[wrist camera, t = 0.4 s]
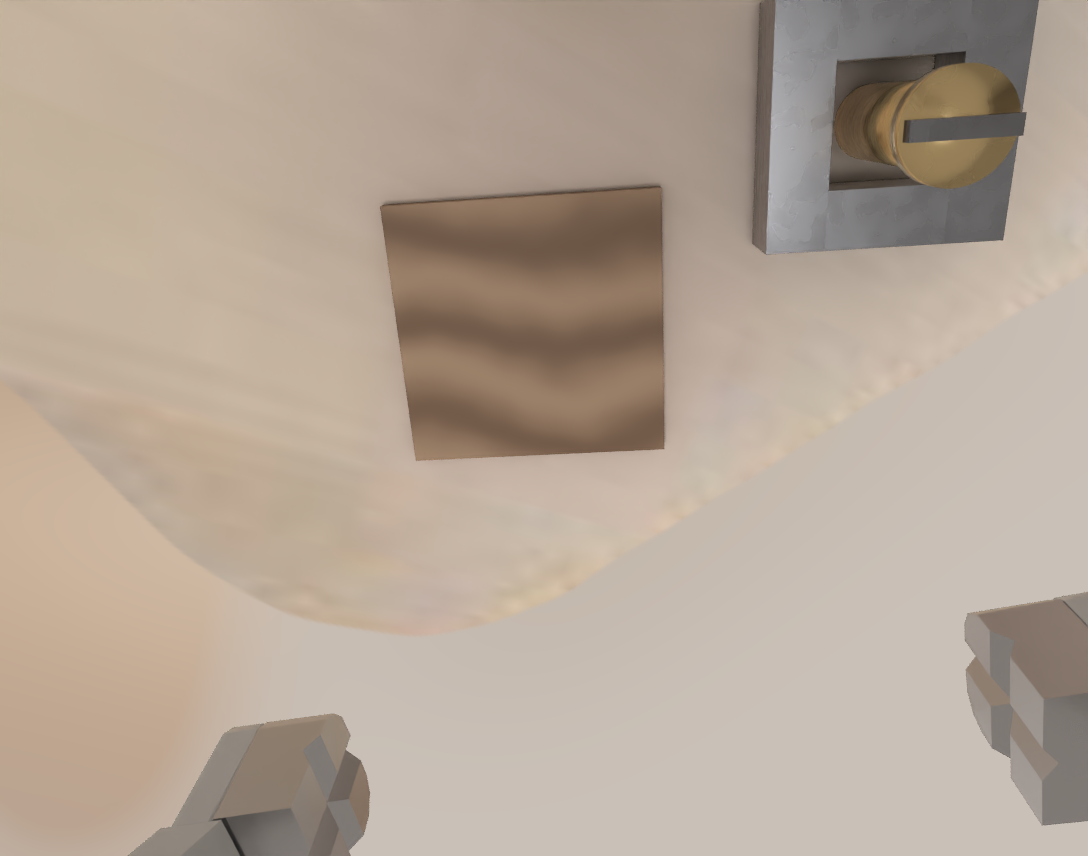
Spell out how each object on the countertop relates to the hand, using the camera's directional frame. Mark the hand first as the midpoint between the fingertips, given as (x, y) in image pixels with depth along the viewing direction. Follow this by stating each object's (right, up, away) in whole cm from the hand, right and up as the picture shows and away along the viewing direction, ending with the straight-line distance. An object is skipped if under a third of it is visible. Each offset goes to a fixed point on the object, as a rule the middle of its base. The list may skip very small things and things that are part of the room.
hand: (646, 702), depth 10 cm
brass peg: (+19, +22, +39) cm, 48 cm away
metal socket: (+19, +22, +38) cm, 48 cm away
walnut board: (-2, +10, +44) cm, 46 cm away
